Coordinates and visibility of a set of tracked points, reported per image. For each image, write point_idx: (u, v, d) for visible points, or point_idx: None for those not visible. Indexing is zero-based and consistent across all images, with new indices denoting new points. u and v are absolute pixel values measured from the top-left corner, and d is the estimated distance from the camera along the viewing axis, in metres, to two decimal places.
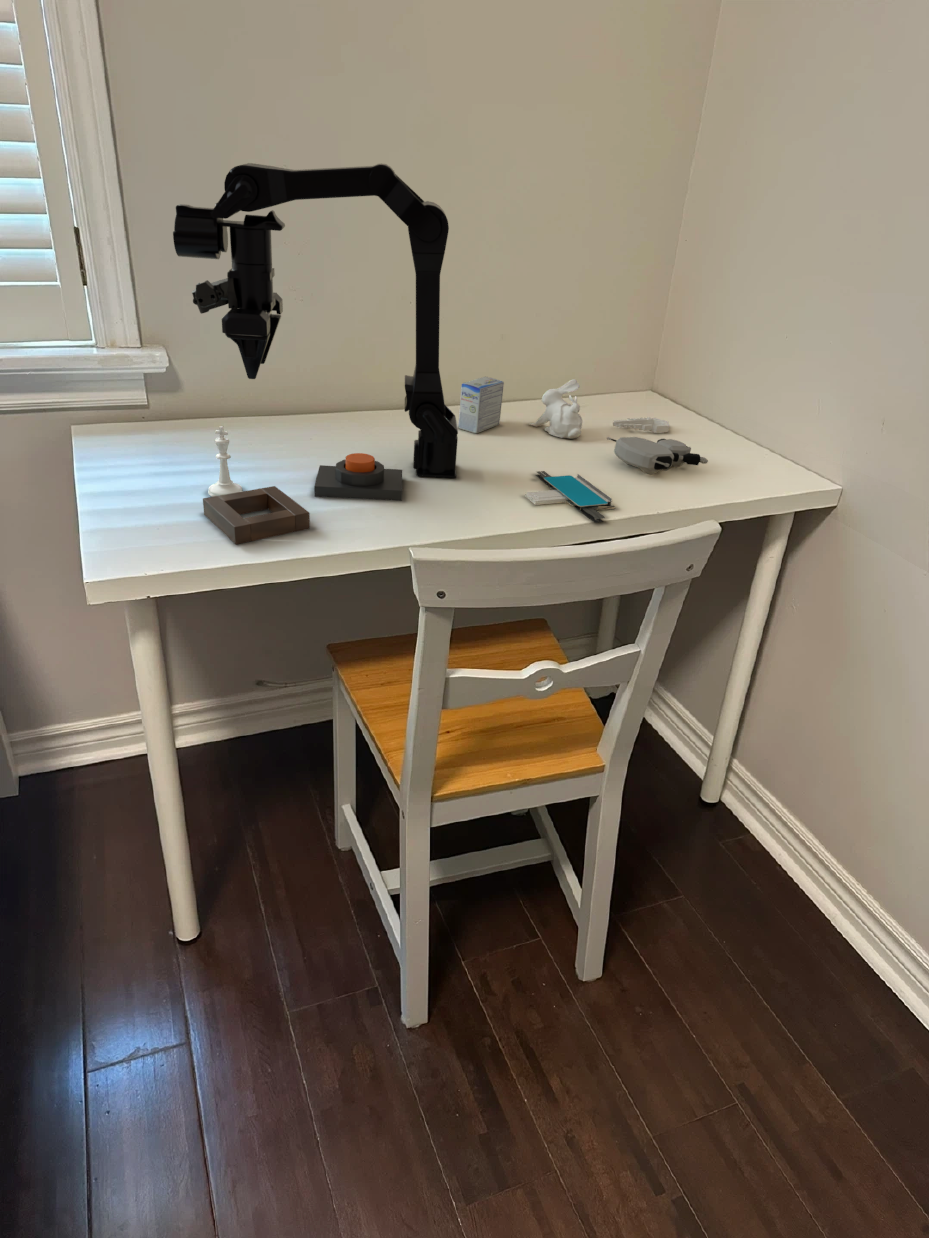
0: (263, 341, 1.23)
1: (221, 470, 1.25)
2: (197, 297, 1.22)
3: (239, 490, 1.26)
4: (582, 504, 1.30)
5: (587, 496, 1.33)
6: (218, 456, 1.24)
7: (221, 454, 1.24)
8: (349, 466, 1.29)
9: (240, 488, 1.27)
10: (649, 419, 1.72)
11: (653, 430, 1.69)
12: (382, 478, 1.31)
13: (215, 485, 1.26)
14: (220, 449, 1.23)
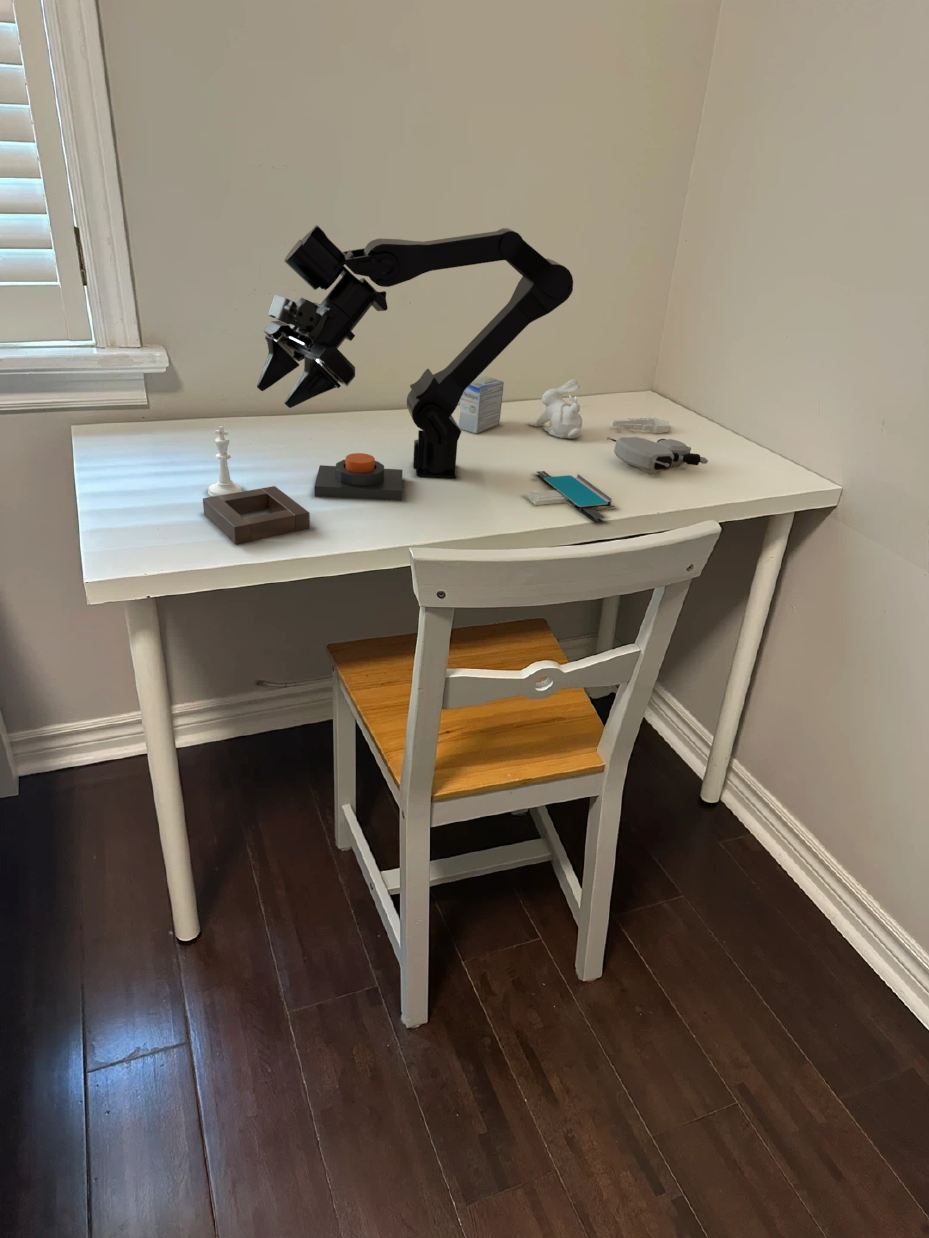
0: (330, 386, 1.22)
1: (221, 470, 1.25)
2: (300, 310, 1.17)
3: (239, 490, 1.26)
4: (582, 504, 1.30)
5: (587, 496, 1.33)
6: (218, 456, 1.24)
7: (221, 454, 1.24)
8: (349, 466, 1.29)
9: (240, 488, 1.27)
10: (649, 419, 1.72)
11: (653, 430, 1.69)
12: (382, 478, 1.31)
13: (215, 485, 1.26)
14: (220, 449, 1.23)
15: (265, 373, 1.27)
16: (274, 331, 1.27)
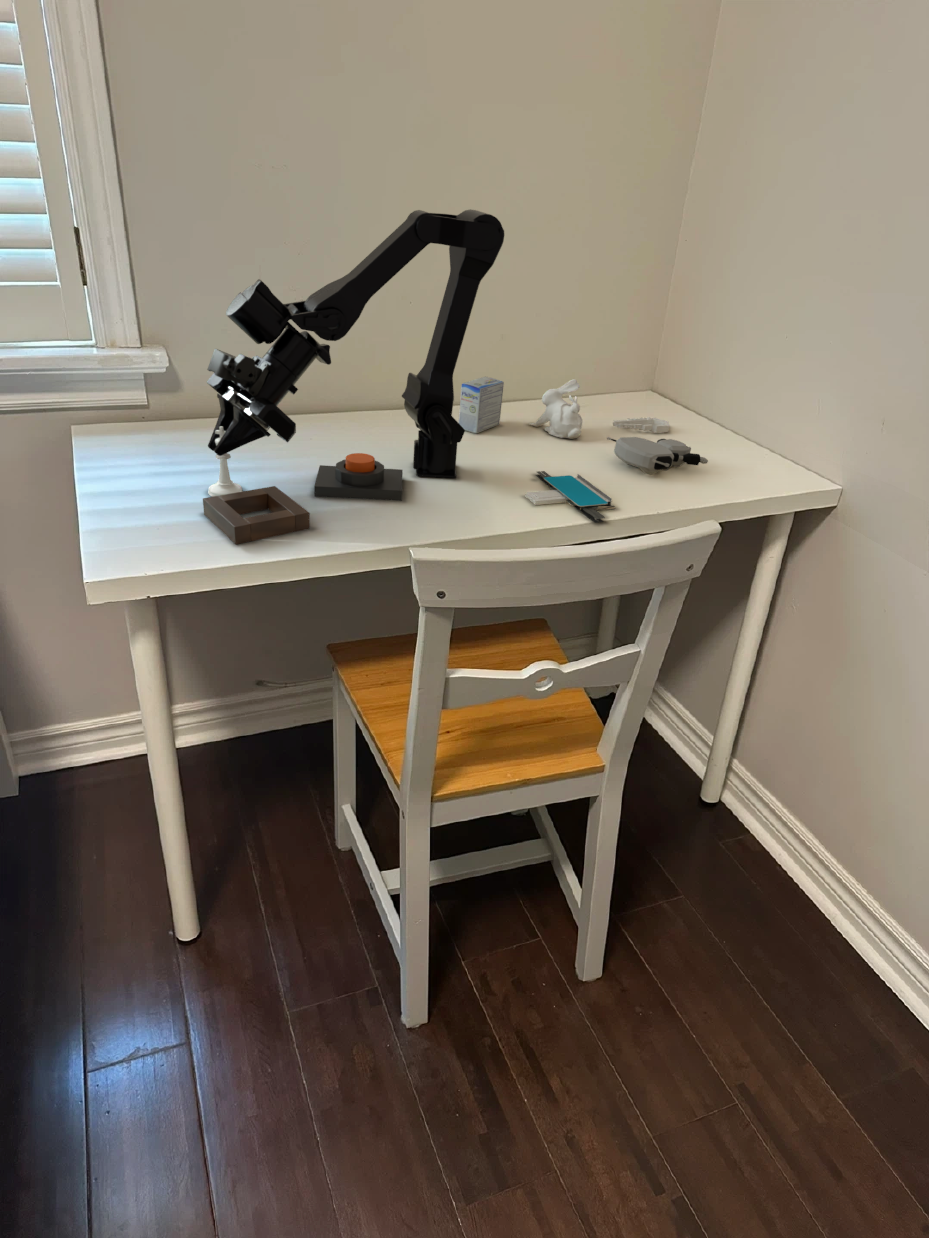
0: (260, 434, 1.23)
1: (221, 470, 1.25)
2: (238, 366, 1.15)
3: (239, 490, 1.26)
4: (582, 504, 1.30)
5: (587, 496, 1.33)
6: (218, 456, 1.24)
7: None
8: (349, 466, 1.29)
9: (240, 488, 1.27)
10: (649, 419, 1.72)
11: (653, 430, 1.69)
12: (382, 478, 1.31)
13: (215, 485, 1.26)
14: None
15: None
16: (216, 383, 1.25)
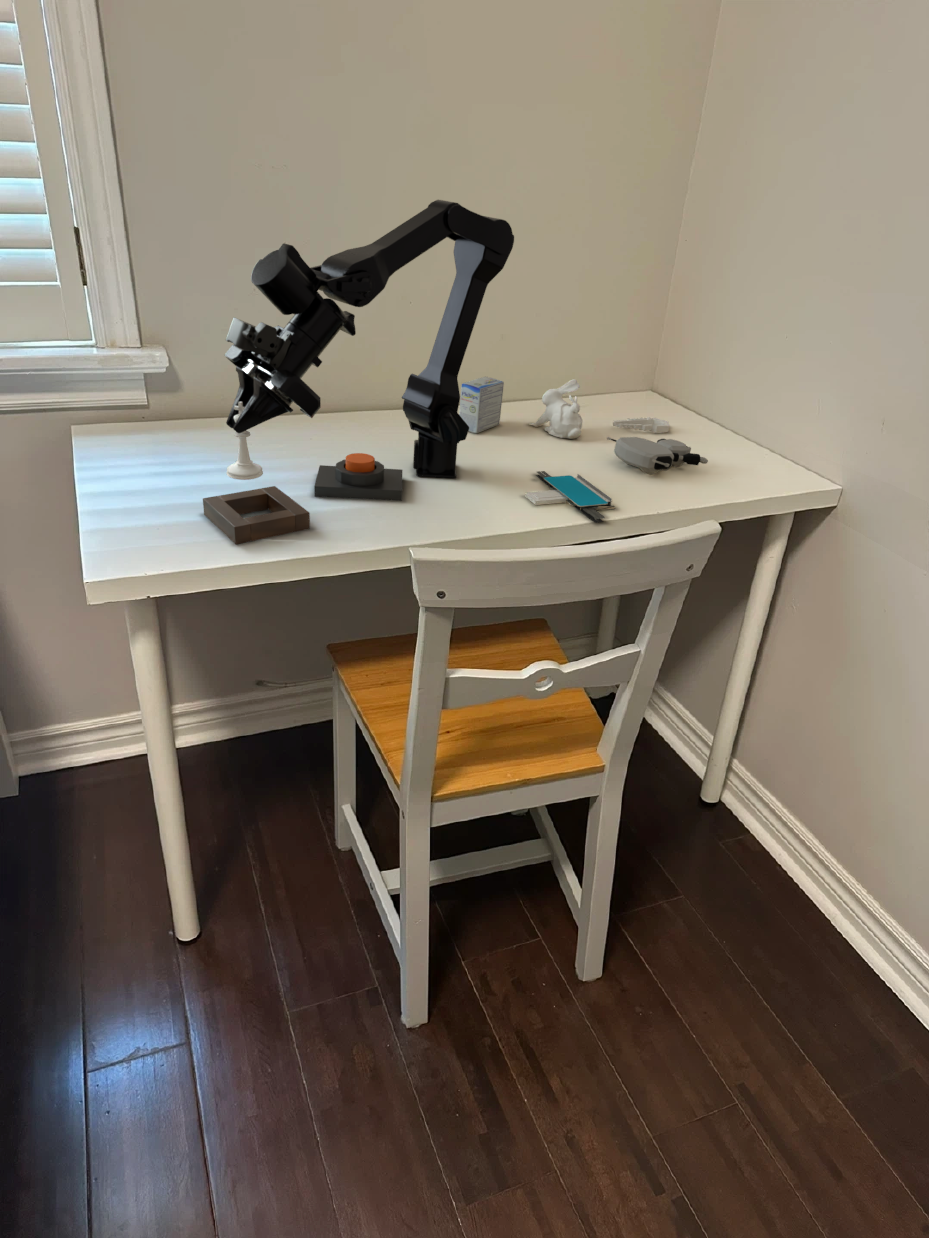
0: (281, 410, 1.14)
1: (240, 449, 1.17)
2: (259, 335, 1.07)
3: (259, 470, 1.18)
4: (582, 504, 1.30)
5: (587, 496, 1.33)
6: (237, 434, 1.15)
7: None
8: (349, 466, 1.29)
9: (260, 468, 1.19)
10: (649, 419, 1.72)
11: (653, 430, 1.69)
12: (382, 478, 1.31)
13: (234, 465, 1.18)
14: None
15: None
16: (235, 356, 1.17)
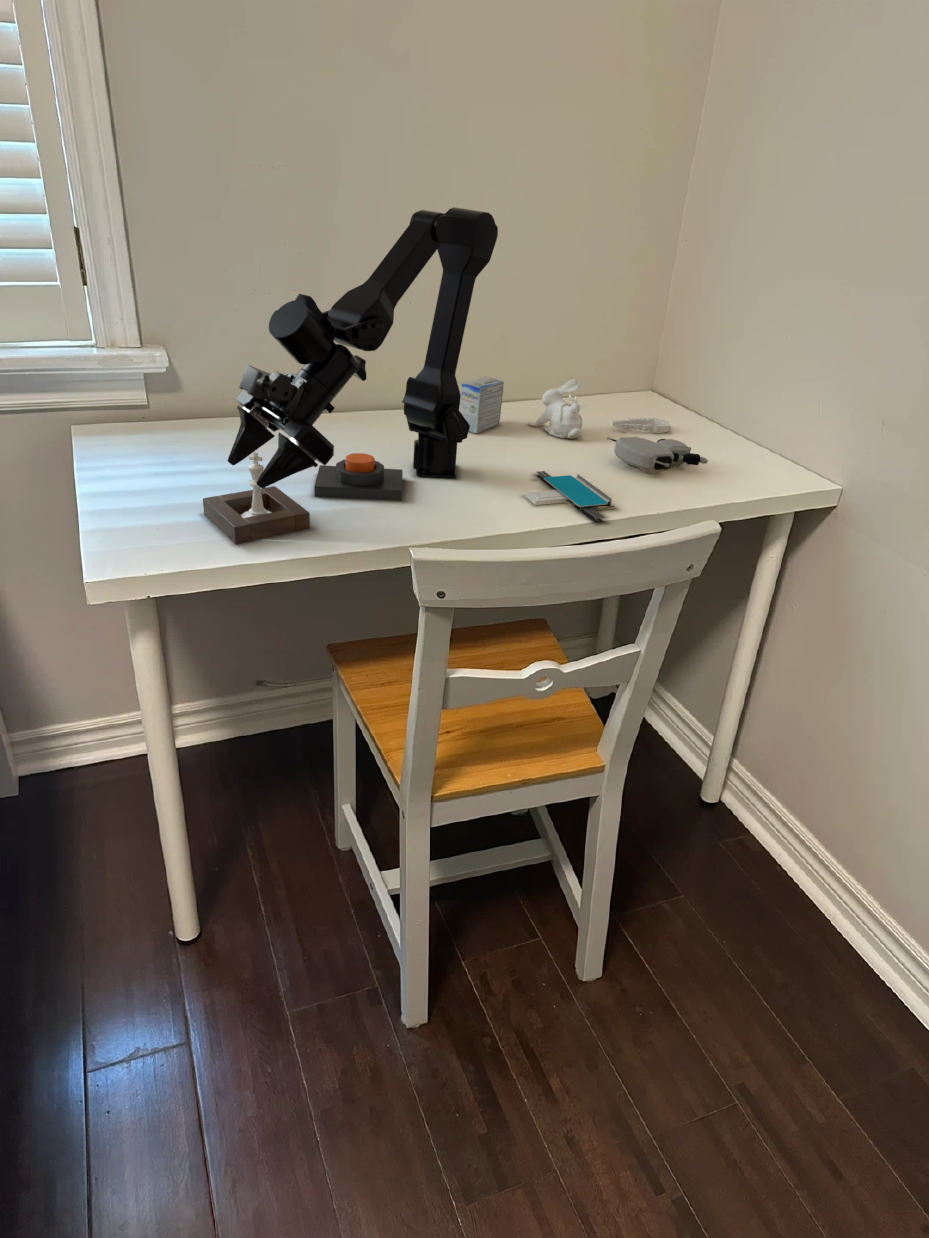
0: (306, 464, 1.12)
1: (254, 498, 1.17)
2: (273, 384, 1.07)
3: None
4: (582, 504, 1.30)
5: (587, 496, 1.33)
6: (252, 483, 1.16)
7: (255, 481, 1.16)
8: (349, 466, 1.29)
9: None
10: (649, 419, 1.72)
11: (653, 430, 1.69)
12: (382, 478, 1.31)
13: (247, 513, 1.18)
14: (254, 476, 1.15)
15: (236, 446, 1.17)
16: (247, 401, 1.17)
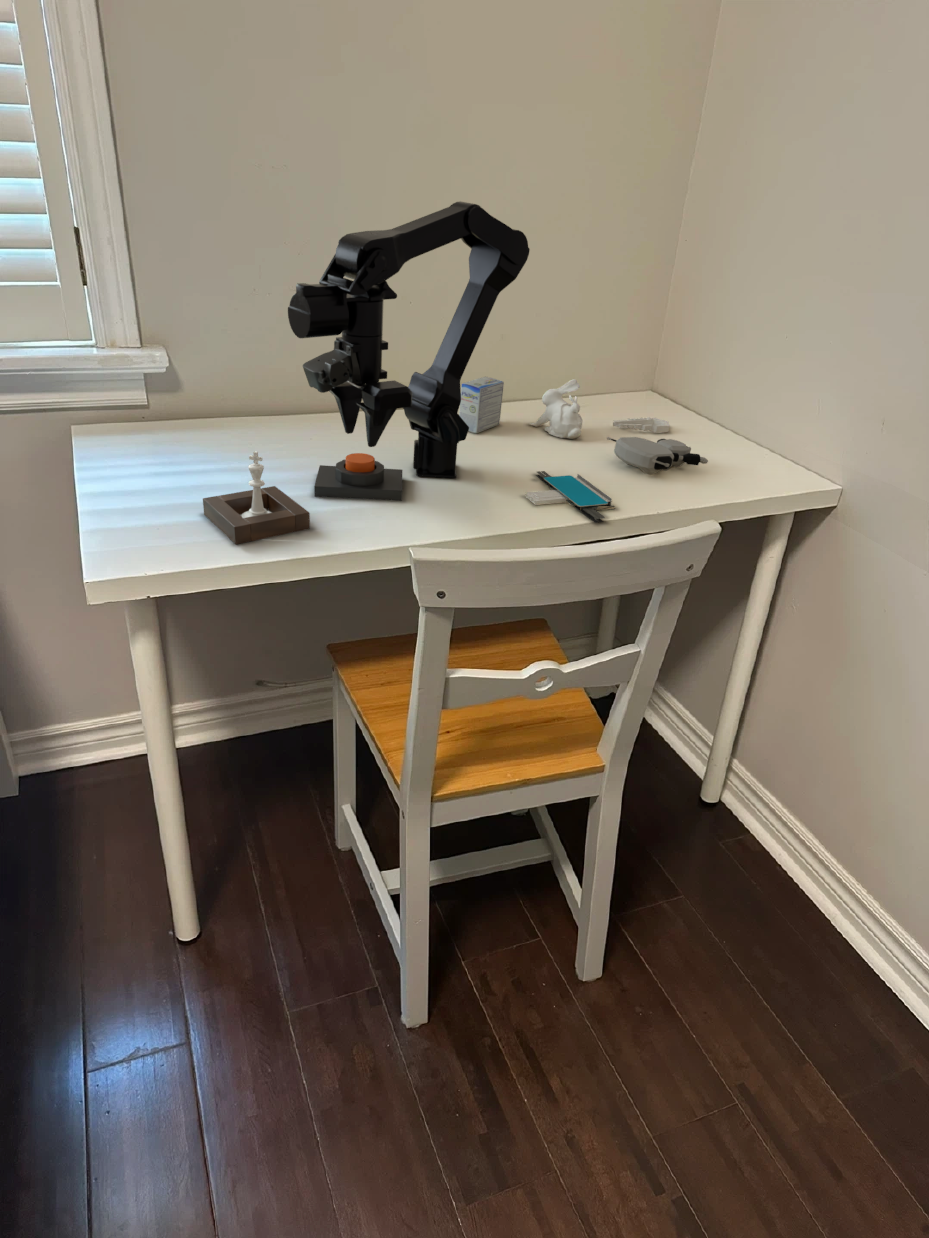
0: (393, 408, 1.23)
1: (254, 498, 1.17)
2: (331, 377, 1.17)
3: None
4: (582, 504, 1.30)
5: (587, 496, 1.33)
6: (252, 483, 1.16)
7: (255, 481, 1.16)
8: (349, 466, 1.29)
9: None
10: (649, 419, 1.72)
11: (653, 430, 1.69)
12: (382, 478, 1.31)
13: (247, 513, 1.18)
14: (254, 476, 1.15)
15: (344, 418, 1.29)
16: None
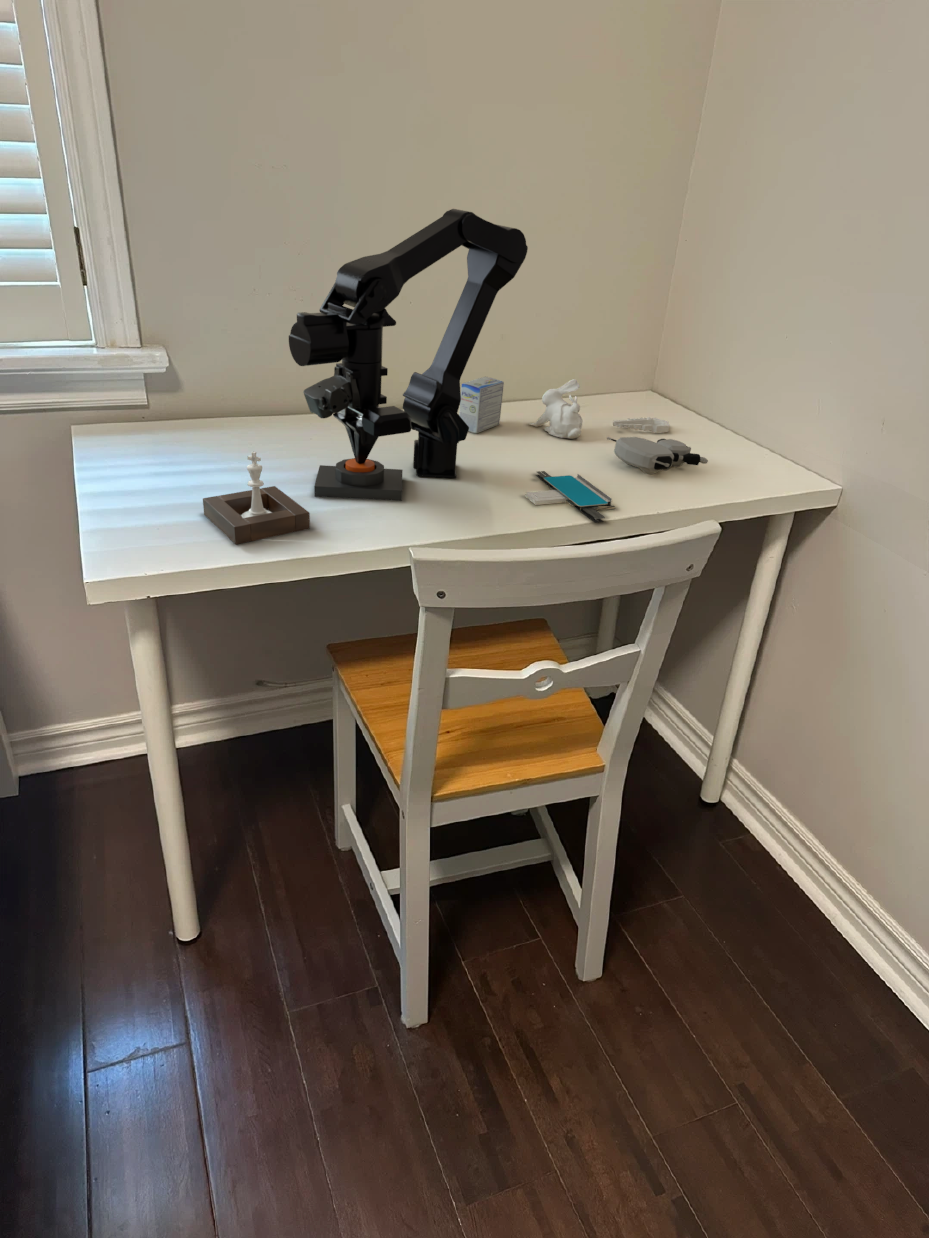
0: None
1: (253, 498, 1.17)
2: (332, 404, 1.18)
3: None
4: (582, 504, 1.30)
5: (587, 496, 1.33)
6: (251, 483, 1.16)
7: (253, 481, 1.16)
8: None
9: None
10: (649, 419, 1.72)
11: (653, 430, 1.69)
12: (382, 478, 1.31)
13: (247, 513, 1.18)
14: (252, 476, 1.15)
15: (355, 448, 1.29)
16: None
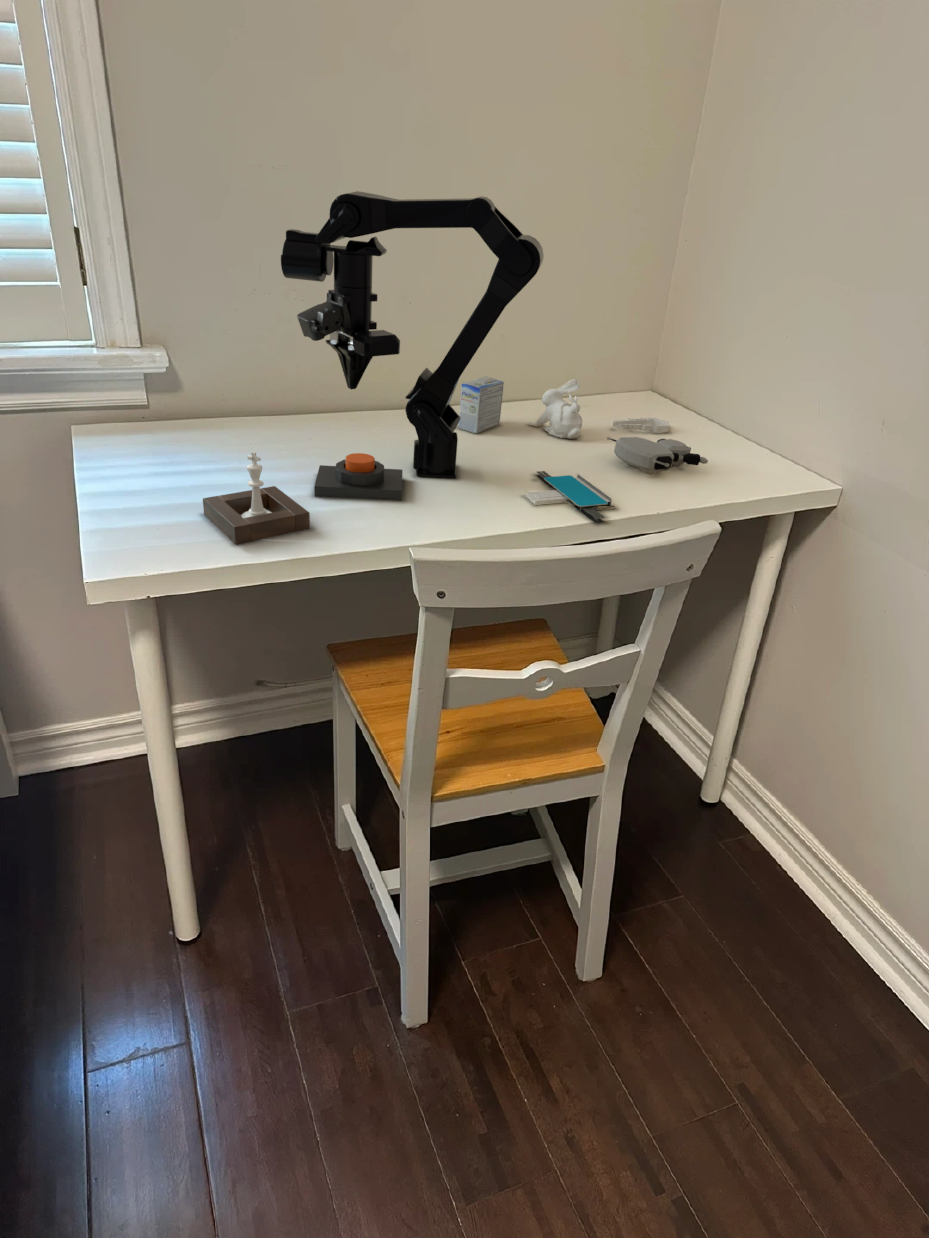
0: None
1: (253, 498, 1.17)
2: (324, 325, 1.25)
3: None
4: (582, 504, 1.30)
5: (587, 496, 1.33)
6: (250, 483, 1.16)
7: (253, 481, 1.16)
8: (349, 466, 1.29)
9: None
10: (649, 419, 1.72)
11: (653, 430, 1.69)
12: (382, 478, 1.31)
13: (247, 513, 1.18)
14: (252, 476, 1.15)
15: (347, 374, 1.35)
16: None
